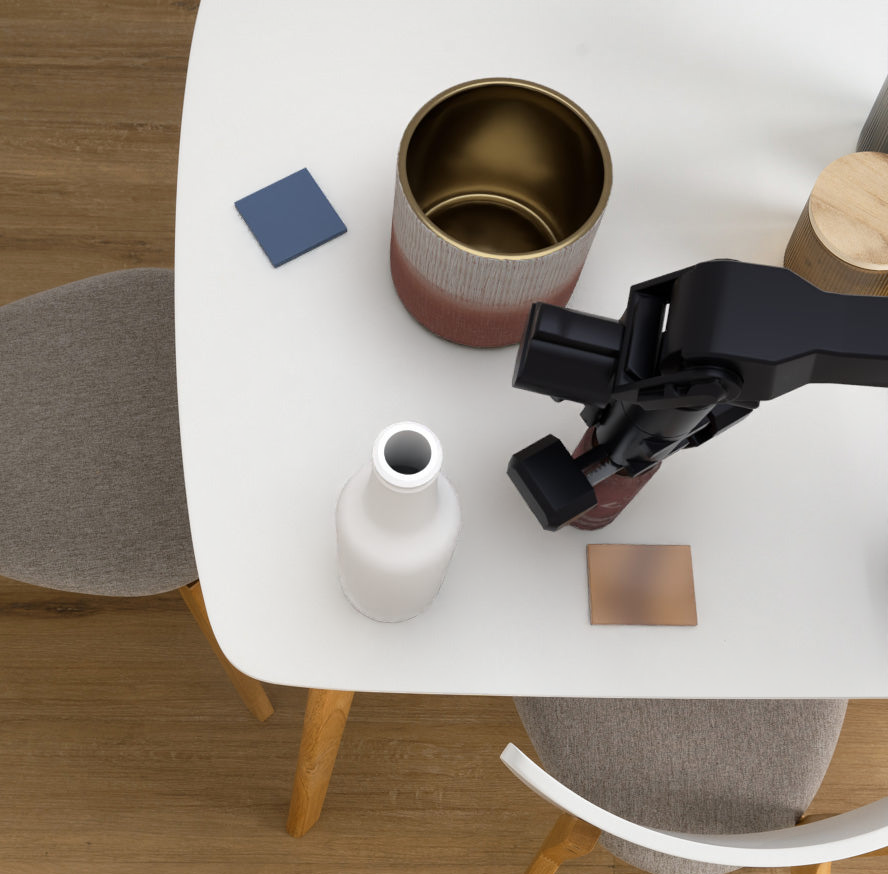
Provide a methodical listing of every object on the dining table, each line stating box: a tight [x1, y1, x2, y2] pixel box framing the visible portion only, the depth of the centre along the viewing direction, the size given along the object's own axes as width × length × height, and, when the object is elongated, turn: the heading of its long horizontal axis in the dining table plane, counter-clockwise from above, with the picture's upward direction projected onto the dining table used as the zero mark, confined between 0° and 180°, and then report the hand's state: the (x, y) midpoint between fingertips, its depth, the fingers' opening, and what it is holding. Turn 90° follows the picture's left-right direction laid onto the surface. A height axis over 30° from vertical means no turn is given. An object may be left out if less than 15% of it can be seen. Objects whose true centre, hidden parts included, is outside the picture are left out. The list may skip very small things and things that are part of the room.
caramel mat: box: [586, 543, 699, 627], centre depth 83 cm, size 9×7×1 cm
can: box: [568, 425, 663, 531], centre depth 79 cm, size 6×6×14 cm
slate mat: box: [233, 166, 348, 269], centre depth 93 cm, size 8×8×1 cm
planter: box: [389, 76, 614, 348], centre depth 85 cm, size 18×18×16 cm
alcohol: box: [334, 421, 463, 623], centre depth 69 cm, size 9×9×30 cm
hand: (602, 472), depth 80 cm, fingers open, 8 cm apart
